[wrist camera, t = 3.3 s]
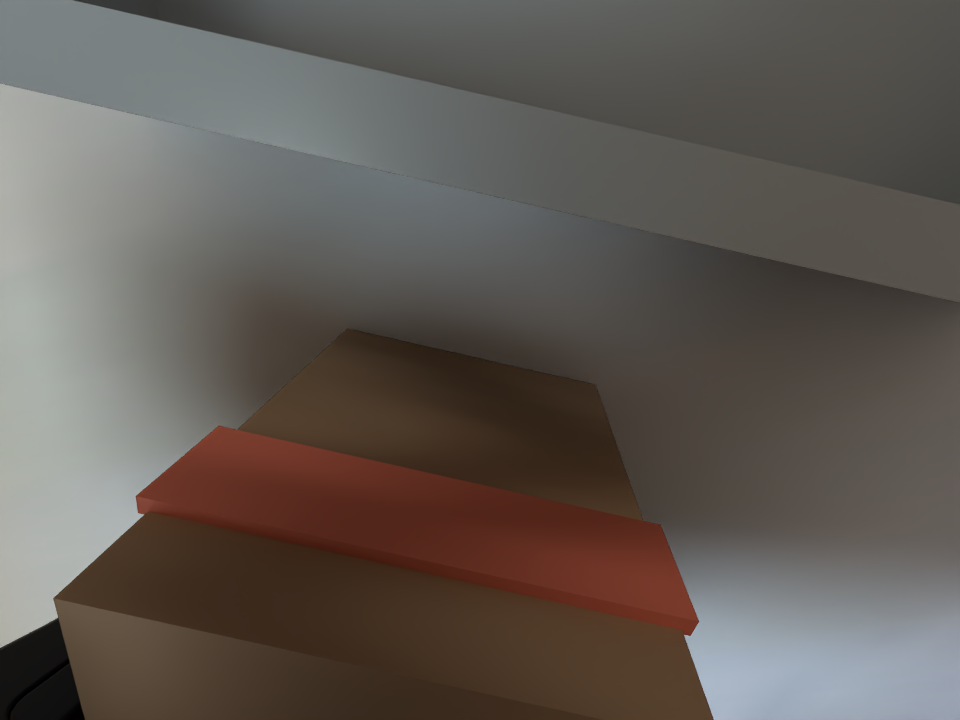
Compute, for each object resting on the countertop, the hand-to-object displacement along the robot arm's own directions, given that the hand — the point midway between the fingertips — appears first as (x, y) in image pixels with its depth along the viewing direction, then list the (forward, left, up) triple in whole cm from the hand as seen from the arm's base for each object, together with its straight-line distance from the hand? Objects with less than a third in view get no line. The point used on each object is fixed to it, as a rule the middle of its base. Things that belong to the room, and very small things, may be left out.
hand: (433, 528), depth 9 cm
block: (0, 0, -1) cm, 1 cm away
